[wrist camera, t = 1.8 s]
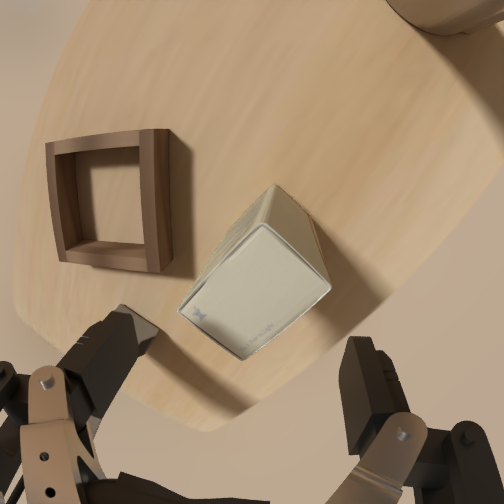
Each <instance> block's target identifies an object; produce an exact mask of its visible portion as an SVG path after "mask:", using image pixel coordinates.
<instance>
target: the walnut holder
mask: <svg viewBox="0 0 504 504" xmlns="http://www.w3.org/2000/svg"><path fill="white" fill-rule="evenodd" d="M45 146H46V167H47V181H48V191H49V201H50V209H51V216H52V223H53V229H54V235H55V241H56V247H57V252H58V257H59V261H61V262H69V263H76V264H84V265H92V266H100V267H108V268H117V269H125V270H134V271H143V272H152V273H161V272H162V271H163V270H164V269H165V268H166V267H167V265H168V264H169V263H170V262H171V261H172V260H173V251H172V236H171V217H170V190H169V129H144V130H133V131H123V132H114V133H106V134H98V135H91V136H84V137H78V138H71V139H66V140H60V141H55V142H49V143H45ZM128 146H139V161H140V189H141V207H142V221H143V233H144V244H132V243H118V242H105V241H92V240H83V238H82V231H81V224H80V216H79V207H78V198H77V187H76V173H75V153H74V152H79V151H87V150H96V149H105V148H116V147H128Z"/></svg>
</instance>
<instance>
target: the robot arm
mask: <svg viewBox="0 0 504 504" xmlns="http://www.w3.org/2000/svg"><path fill="white" fill-rule="evenodd" d="M387 2H388V3H389V4H390V5H391V6H392V7H393V9H394V10H395V11H396V12H397V13H398V14H400V15H401V16H402V17H403V18H404V19H406V20H407V21H408V22H410V23H412V24H413V25H415V26H416V27H418V28H420V29H422V30H424V31H426V32H429V33H433V34H436V35H443V36H447V35H453V34H456V33H459V32H464V33H466V34H469V35H470V34H472V33H474V32H476V31H479V30H481V29H483V28H486V27H488V26H490V25H493V24H495V23H498V22H500V21H503V20H504V0H387ZM138 354H139V344H138V340H137V335H136V330H135V325H134V320H133V317H132V315H131V314H129V313H123V312H118V311H111V312H110V313H109V314H108V316H107V317H106V318H105V319H104V320H103V321H99V322H97V323H96V324H94V325H92V326H91V327H89V328H88V329H87V331H86V332H85V333H84V334H83V335H82V337H80V338H79V340H78V341H77V343H75V344H74V345H73V346H72V348H71V349H70V350H69V351H68V352H67V353H66V355H65V356H64V357H63V358H62V359H61V361H60V362H59V363H58V364H57V365H56V366H44V367H41V368H39V369H37V370H36V371H35V372H33V374H32V375H24V374H17V373H16V371H15V369H14V367H13V366H12V364H11V363H9V362H6V361H0V411H1V410H2V409H4V410H5V412H6V413H7V415H8V417H7V418H6V420H5V422H4V423H3V424H2V426H1V427H0V504H5V503H4V496H5V494H6V492H7V490H8V488H9V485H10V484H11V482H12V480H13V478H14V476H15V474H16V472H17V470H18V468H19V466H20V464H21V463H22V468H23V478H24V486H25V492H26V498H27V504H270V501H259V500H248V499H238V498H216V499H188V498H185V497H183V496H181V495H179V494H177V493H175V492H172V491H171V490H168V489H167V488H165V487H162V486H161V485H159V484H157V483H155V482H153V481H149V480H145V479H142V478H139V477H136V476H133V475H130V474H127V473H124V472H120V474H119V477H118V479H107V478H106V476H105V474H104V472H103V471H102V469H101V467H100V464H99V461H98V457H97V454H96V450H95V446H94V443H93V438H92V434H91V430H90V425H89V423H88V419H89V417H90V416H93V417H96V418H99V419H102V418H103V416H104V414H105V412H106V411H107V409H108V408H109V406H110V404H111V402H112V401H113V399H114V397H115V395H116V393H117V392H118V390H119V389H120V387H121V385H122V384H123V382H124V380H125V378H126V377H127V375H128V373H129V372H130V370H131V368H132V367H133V365H134V363H135V362H136V360H137V358H138ZM339 388H340V393H341V400H342V406H343V414H344V420H345V428H346V435H347V443H348V451H349V455H359V456H360V461H359V463H358V464H357V465H356V467H355V468H354V469H353V470H352V471H351V473H350V474H349V475H348V477H347V478H346V479H345V480H344V482H343V483H342V484H341V485H340V486H339V488H338V489H337V490H336V492H335V493H334V494H333V495H332V496H331V497H330V498H329V500H328V501H327V502H326V503H325V504H397V503H398V500H399V499H400V497H401V495H402V492H403V491H402V490H401V488H402V486H408V487H413V489H414V496H415V504H504V488H503V484H502V481H501V477H500V474H499V471H498V468H497V465H496V462H495V459H494V456H493V453H492V450H491V447H490V444H489V442H488V439H487V436H486V434H485V432H484V430H483V429H482V427H481V426H479V425H478V424H477V423H475V422H472V421H461V422H459V423H457V424H456V425H455V426H454V427H453V429H452V430H451V431H447V430H439V429H432V428H428V427H427V426H426V424H425V422H424V421H423V420H422V419H421V418H420V417H418V416H417V415H415V414H413V413H411V412H410V409H409V406H408V403H407V400H406V398H405V395H404V392H403V389H402V387H401V384H400V381H398V375H397V373H396V372H395V368H394V365H393V362H392V360H391V359H390V358H389V357H388V356H387V354H385V352H384V351H381V350H377V351H376V350H375V348H374V344H373V342H372V339H371V337H361V336H350V337H349V339H348V341H347V345H346V349H345V352H344V356H343V359H342V363H341V366H340V370H339Z"/></svg>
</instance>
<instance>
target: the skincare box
mask: <svg viewBox="0 0 504 504" xmlns="http://www.w3.org/2000/svg"><path fill="white" fill-rule="evenodd" d="M331 289H332V285H331V281H330V278H329V274H328V271H327V267H326V264H325V260H324V257H323V254H322V250H321V247H320V244H319V240H318V237H317V234H316V230H315V227H314V224H313V221H312V218H311V217H310V216H309V215H308V214H307V213H306V212H305V211H304V210H303V209H302V208H301V207H300V206H299V205H298V204H297V203H296V202H295V201H294V200H293V199H292V198H291V197H290V196H289V195H288V194H287V193H286V192H284V191H283V190H282V189H281V188H280V187H279V186H278V185H276V184H273V185H272V186H271V187H270V188H269V189H268V190H267V191H266V192H265V193H264V194H263V195H262V196H261V197H260V198H259V199H258V200H257V201H256V202H255V203H254V204H253V205H252V206H251V207H250V208H249V209H248V210H247V211H246V212H245V213H244V214H243V215H242V216H241V218H240V219H239V220H238V221H237V222H236V223H235V224H234V225H233V226H232V228H231V229H230V230H229V231H228V232H227V233H226V234H225V236H224V237H223V239H222V241H221V242H220V244H219V245H218V247H217V248H216V250H215V251H214V253H213V254H212V256H211V257H210V259H209V261H208V262H207V264H206V265H205V267H204V268H203V270H202V271H201V273H200V274H199V276H198V278H197V279H196V281H195V282H194V284H193V285H192V287H191V288H190V290H189V292H188V293H187V295H186V296H185V298H184V300H183V301H182V303H181V304H180V306H179V308H178V309H177V313H179V314H180V315H181V316H183V317H184V318H185V319H186V320H187V321H189V322H190V323H191V324H192V325H194V326H195V327H196V328H197V329H199V330H200V331H201V332H202V333H204V334H205V335H206V336H208V337H209V338H210V339H211V340H213V341H214V342H215V343H217V344H218V345H219V346H221V347H222V348H224V349H225V350H226V351H228V352H229V353H231V354H232V355H233V356H235V357H236V358H238V359H239V360H242V361H243V360H245V359H247V358H248V357H250V356H251V355H253V354H254V353H256V352H257V351H259V350H260V349H261V348H263V347H264V346H265V345H267V344H268V343H269V342H270V341H272V340H273V339H274V338H276V337H277V336H278V335H279V334H281V333H282V332H283V331H284V330H285V329H287V328H288V327H289V326H290V325H292V324H293V323H294V322H295V321H296V320H297V319H299V318H300V317H301V316H302V315H303V314H305V313H306V312H307V311H308V310H309V309H310V308H311V307H312V306H314V305H315V304H316V303H317V302H318V301H319V300H321V299H322V298H323V297H324V296H325V295H326V294H327V293H328V292H329V291H330V290H331Z"/></svg>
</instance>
